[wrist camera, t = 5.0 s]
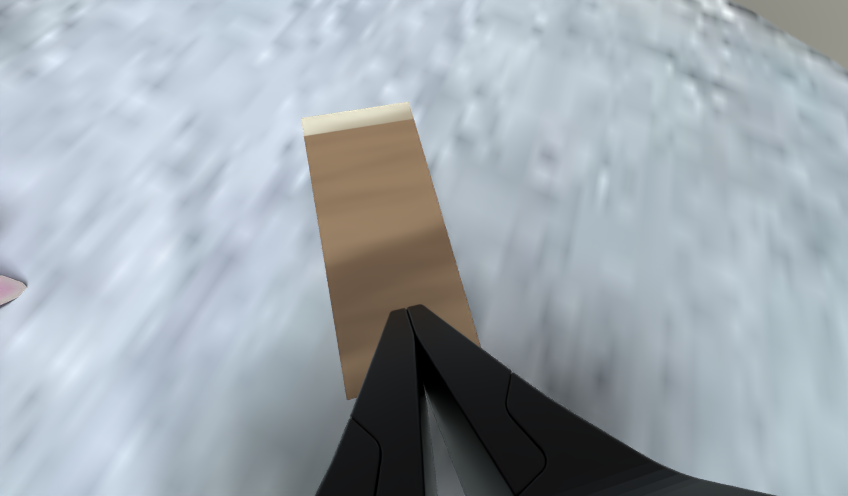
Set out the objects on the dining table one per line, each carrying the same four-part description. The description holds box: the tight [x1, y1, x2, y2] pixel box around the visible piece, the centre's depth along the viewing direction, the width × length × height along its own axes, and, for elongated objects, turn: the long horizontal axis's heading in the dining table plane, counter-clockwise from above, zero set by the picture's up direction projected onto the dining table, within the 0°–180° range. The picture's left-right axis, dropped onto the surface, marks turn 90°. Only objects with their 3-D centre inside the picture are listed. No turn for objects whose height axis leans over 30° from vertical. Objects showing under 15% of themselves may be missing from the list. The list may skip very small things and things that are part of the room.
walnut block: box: [301, 102, 481, 400], centre depth 16 cm, size 5×5×12 cm
